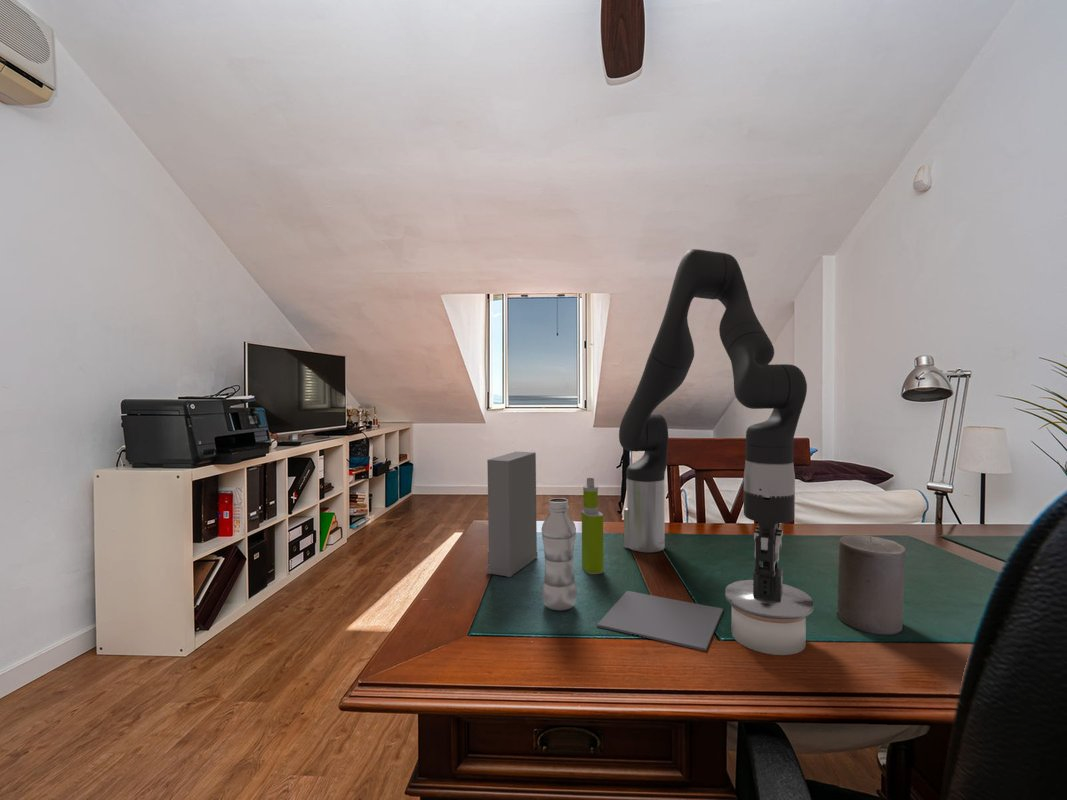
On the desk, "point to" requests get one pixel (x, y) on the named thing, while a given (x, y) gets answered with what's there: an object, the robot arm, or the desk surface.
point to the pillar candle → (871, 584)
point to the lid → (782, 606)
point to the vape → (592, 530)
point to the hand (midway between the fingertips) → (767, 589)
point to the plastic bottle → (559, 557)
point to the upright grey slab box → (511, 512)
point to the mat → (663, 619)
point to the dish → (769, 633)
